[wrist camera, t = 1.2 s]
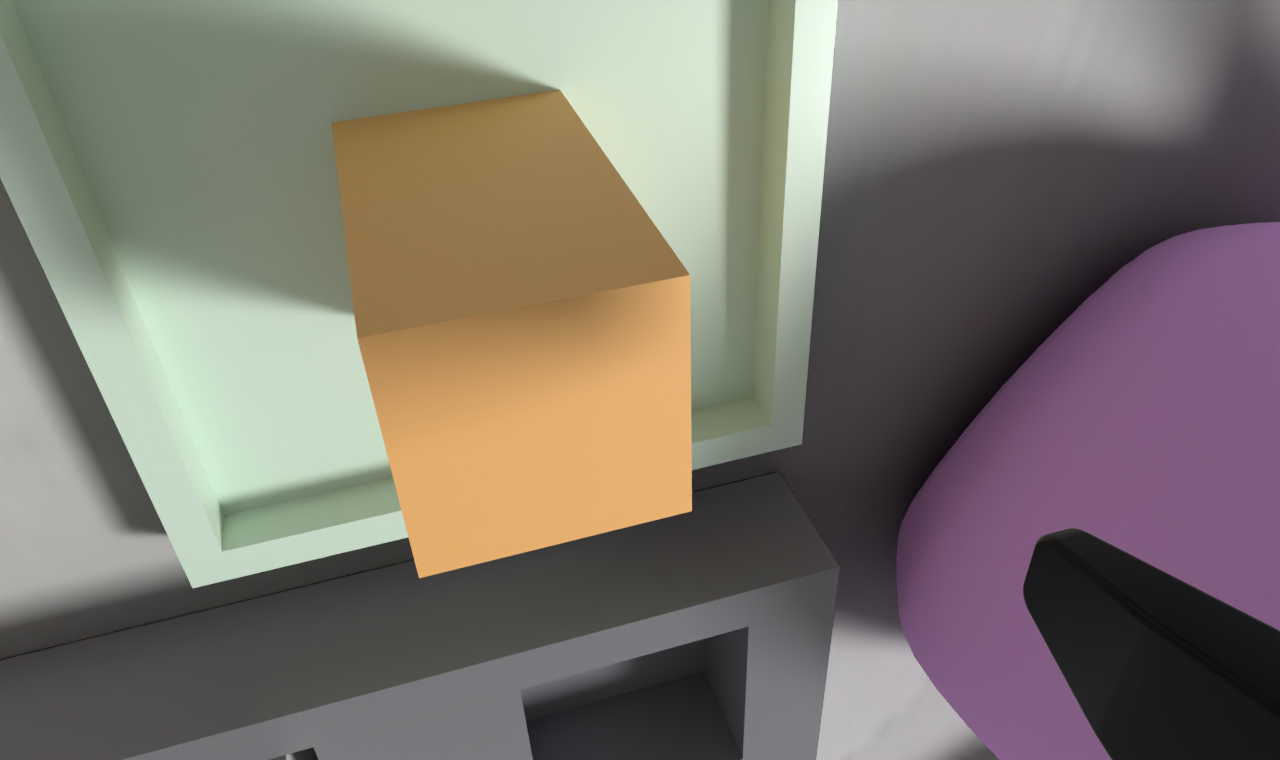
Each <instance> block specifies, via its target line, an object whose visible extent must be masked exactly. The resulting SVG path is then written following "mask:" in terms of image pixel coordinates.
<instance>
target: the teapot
mask: <svg viewBox="0 0 1280 760" xmlns="http://www.w3.org/2000/svg"><path fill="white" fill-rule="evenodd" d="M1070 528H1076V529H1080V530H1083V531H1086V532H1088V533H1090V534H1092V535H1094V536H1096V537H1098V538H1100V539H1102V540H1103V541H1105V542H1107V543H1109V544H1111V545H1113V546H1115V547H1117V548H1119V549H1121V550H1123V551H1125V552H1127V553H1129V554H1131V555H1133V556H1135V557H1137V558H1139V559H1141V560H1143V561H1145V562H1147V563H1149V564H1151V565H1152V566H1154V567H1156V568H1158V569H1160V570H1162V571H1164V572H1166V573H1168V574H1170V575H1172V576H1174V577H1176V578H1178V579H1180V580H1182V581H1184V582H1186V583H1188V584H1190V585H1192V586H1194V587H1196V588H1198V589H1200V590H1202V591H1203V592H1205V593H1207V594H1209V595H1211V596H1213V597H1215V598H1217V599H1219V600H1221V601H1223V602H1225V603H1227V604H1229V605H1231V606H1233V607H1235V608H1237V609H1239V610H1241V611H1243V612H1245V613H1247V614H1249V615H1251V616H1252V617H1254V618H1256V619H1258V620H1260V621H1262V622H1264V623H1266V624H1268V625H1270V626H1272V627H1274V628H1276V629H1278V630H1280V222H1265V223H1248V224H1238V225H1228V226H1219V227H1213V228H1205V229H1198V230H1194V231H1191V232H1187V233H1184V234H1180V235H1177V236H1173V237H1171V238H1169V239H1167V240H1165V241H1163V242H1161V243H1159V244H1157V245H1155V246H1153V247H1150V248H1149V249H1147V250H1146V251H1145V252H1143V253H1142V254H1140V255H1139V256H1138V257H1136V258H1135V259H1133V260H1132V261H1131V262H1129V263H1128V264H1126V265H1125V266H1123V267H1122V268H1121V269H1120V270H1119V271H1117V272H1116V273H1115V274H1114V275H1113V276H1112V277H1111V278H1110V279H1109V280H1107V281H1106V282H1105V283H1104V284H1103V285H1102V286H1101V287H1100V288H1098V289H1097V290H1096V291H1095V292H1094V293H1093V294H1092V295H1091V296H1090V297H1088V298H1087V299H1086V300H1085V301H1084V302H1083V303H1082V304H1081V305H1080V306H1079V307H1078V308H1077V309H1076V310H1075V311H1074V312H1073V313H1072V314H1071V315H1070V316H1069V317H1068V318H1067V319H1066V320H1065V321H1064V322H1063V323H1062V324H1061V325H1060V326H1059V327H1058V328H1057V329H1056V330H1055V331H1054V332H1053V333H1052V334H1051V335H1050V336H1049V337H1048V338H1047V339H1046V340H1045V341H1044V342H1043V343H1042V344H1041V345H1040V346H1039V347H1038V348H1037V349H1036V350H1035V352H1034V353H1033V354H1032V355H1031V356H1030V357H1029V358H1028V359H1027V360H1026V361H1025V362H1024V363H1023V364H1022V366H1021V367H1020V368H1019V369H1018V370H1017V371H1016V372H1015V373H1014V374H1013V375H1012V376H1011V377H1010V378H1009V379H1008V381H1007V382H1006V383H1005V384H1004V385H1003V386H1002V387H1001V388H1000V389H999V391H998V392H997V393H996V394H995V395H994V396H993V398H992V399H991V400H990V401H989V402H988V403H987V405H986V406H985V407H984V408H983V409H982V411H981V412H980V413H979V414H978V415H977V416H976V418H975V419H974V420H973V421H972V422H971V423H970V425H969V426H968V427H967V428H966V430H965V431H964V432H963V433H962V435H961V436H960V437H959V438H958V440H957V441H956V442H955V443H954V445H953V446H952V447H951V449H950V450H949V451H948V452H947V454H946V455H945V456H944V457H943V459H942V460H941V461H940V462H939V464H938V465H937V466H936V467H935V469H934V470H933V472H932V473H931V474H930V476H929V477H928V479H927V480H926V482H925V483H924V485H923V486H922V488H921V489H920V490H919V492H918V493H917V495H916V496H915V498H914V499H913V501H912V502H911V504H910V506H909V508H908V511H907V513H906V515H905V517H904V519H903V521H902V523H901V527H900V532H899V536H898V547H897V595H898V608H899V619H900V622H901V625H902V627H903V630H904V633H905V636H906V639H907V641H908V643H909V645H910V648H911V650H912V652H913V654H914V657H915V658H916V660H917V661H918V662H919V664H920V665H921V667H922V668H923V670H924V671H925V673H926V674H927V676H928V677H929V679H930V680H931V681H932V683H933V684H934V686H935V687H936V689H937V690H938V691H939V692H940V694H941V695H942V696H943V697H944V698H945V699H946V701H947V702H948V703H949V704H950V705H951V707H952V708H953V709H954V710H955V711H956V712H957V714H958V715H959V716H960V717H961V718H962V720H963V721H964V722H965V723H966V724H967V725H968V726H969V728H970V729H971V730H972V731H973V732H974V733H975V734H976V735H977V736H978V737H979V739H980V740H981V741H982V742H983V743H984V744H985V745H986V746H987V747H988V748H989V749H990V750H991V751H992V752H993V753H994V754H995V756H996V757H997V758H998V759H999V760H1112V759H1111V758H1110V756H1109V755H1108V753H1107V752H1106V750H1105V749H1104V747H1103V745H1102V744H1101V742H1100V741H1099V739H1098V738H1097V736H1096V735H1095V733H1094V731H1093V729H1092V728H1091V726H1090V724H1089V722H1088V721H1087V719H1086V717H1085V715H1084V714H1083V712H1082V710H1081V708H1080V706H1079V704H1078V702H1077V701H1076V699H1075V697H1074V695H1073V693H1072V691H1071V689H1070V688H1069V686H1068V684H1067V682H1066V680H1065V678H1064V676H1063V674H1062V673H1061V671H1060V669H1059V667H1058V665H1057V663H1056V661H1055V660H1054V658H1053V656H1052V654H1051V652H1050V650H1049V648H1048V646H1047V645H1046V643H1045V641H1044V639H1043V637H1042V635H1041V633H1040V632H1039V630H1038V628H1037V626H1036V624H1035V622H1034V620H1033V618H1032V617H1031V615H1030V613H1029V611H1028V609H1027V606H1026V604H1025V601H1024V595H1023V585H1024V581H1025V578H1026V574H1027V571H1028V568H1029V564H1030V561H1031V558H1032V554H1033V551H1034V548H1035V545H1036V542H1037V541H1038V539H1039V538H1041V537H1042V536H1043V535H1046V534H1050V533H1054V532H1057V531H1061V530H1065V529H1070Z"/></svg>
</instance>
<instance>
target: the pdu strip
mask: <svg viewBox="0 0 1280 760" xmlns="http://www.w3.org/2000/svg"><path fill="white" fill-rule="evenodd" d="M839 571H840V566H839V564H838V563H837V561H836V560H835V558H834V556H833V555H832V553H831V552H830V550H829V549H828V547H827V546H826V544H825V542H824V541H823V539H822V538H821V536H820V535H819V533H818V531H817V530H816V528H815V527H814V525H813V524H812V522H811V521H810V519H809V517H808V516H807V514H806V513H805V511H804V510H803V508H802V506H801V505H800V503H799V502H798V500H797V499H796V497H795V496H794V494H793V492H792V491H791V489H790V488H789V486H788V485H787V483H786V481H785V480H784V478H783V477H782V475H781V474H780V472H776V473H772V474H768V475H764V476H760V477H756V478H752V479H747V480H743V481H739V482H735V483H731V484H727V485H723V486H718V487H714V488H710V489H706V490H702V491H698V492H694V493H692V511H691V512H687V513H682V514H678V515H674V516H670V517H666V518H662V519H658V520H654V521H650V522H646V523H642V524H638V525H634V526H630V527H626V528H622V529H617V530H613V531H609V532H605V533H601V534H597V535H593V536H589V537H585V538H581V539H577V540H573V541H569V542H565V543H561V544H557V545H553V546H548V547H544V548H540V549H536V550H532V551H528V552H524V553H520V554H516V555H512V556H508V557H504V558H500V559H496V560H492V561H488V562H484V563H479V564H475V565H471V566H467V567H463V568H459V569H455V570H451V571H447V572H443V573H439V574H435V575H431V576H427V577H423V578H419V576H418V572H417V568H416V565H415V561H414V560H413V561H409V562H404V563H400V564H396V565H392V566H388V567H384V568H380V569H375V570H371V571H367V572H363V573H359V574H355V575H351V576H347V577H342V578H338V579H334V580H330V581H326V582H322V583H318V584H313V585H309V586H305V587H301V588H297V589H293V590H289V591H285V592H280V593H276V594H272V595H268V596H264V597H260V598H256V599H251V600H247V601H243V602H239V603H235V604H231V605H227V606H223V607H218V608H214V609H210V610H206V611H202V612H198V613H194V614H189V615H185V616H181V617H177V618H173V619H169V620H165V621H161V622H156V623H152V624H148V625H144V626H140V627H136V628H132V629H128V630H123V631H119V632H115V633H111V634H107V635H103V636H99V637H94V638H90V639H86V640H82V641H78V642H74V643H70V644H66V645H61V646H57V647H53V648H49V649H45V650H41V651H37V652H32V653H28V654H24V655H20V656H16V657H12V658H8V659H4V660H0V760H269V759H273V758H276V757H280V756H283V755H287V754H291V753H294V752H298V751H302V750H305V749H309V748H312V747H314V750H315V752H316V755H317V757H318V759H319V760H816V755H817V747H818V739H819V731H820V723H821V715H822V707H823V699H824V691H825V683H826V675H827V667H828V659H829V651H830V643H831V635H832V627H833V619H834V611H835V603H836V595H837V587H838V579H839Z"/></svg>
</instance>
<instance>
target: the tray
mask: <svg viewBox="0 0 1280 760" xmlns="http://www.w3.org/2000/svg"><path fill="white" fill-rule="evenodd" d="M837 6H838V0H0V179H1V181H2V183H3V185H4V187H5V189H6V191H7V194H8V196H9V198H10V200H11V202H12V204H13V206H14V208H15V211H16V213H17V215H18V217H19V219H20V221H21V223H22V226H23V228H24V230H25V232H26V234H27V236H28V238H29V240H30V243H31V245H32V247H33V249H34V251H35V253H36V255H37V258H38V260H39V262H40V264H41V266H42V268H43V270H44V273H45V275H46V277H47V279H48V281H49V283H50V285H51V287H52V290H53V292H54V294H55V296H56V298H57V300H58V302H59V305H60V307H61V309H62V311H63V313H64V315H65V317H66V319H67V322H68V324H69V326H70V328H71V330H72V332H73V334H74V337H75V339H76V341H77V343H78V345H79V347H80V349H81V351H82V354H83V356H84V358H85V360H86V362H87V364H88V366H89V369H90V371H91V373H92V375H93V377H94V379H95V381H96V383H97V386H98V388H99V390H100V392H101V394H102V396H103V398H104V401H105V403H106V405H107V407H108V409H109V411H110V413H111V415H112V418H113V420H114V422H115V424H116V426H117V428H118V430H119V433H120V435H121V437H122V439H123V441H124V443H125V445H126V447H127V450H128V452H129V454H130V456H131V458H132V460H133V462H134V465H135V467H136V469H137V471H138V473H139V475H140V477H141V480H142V482H143V484H144V486H145V488H146V490H147V492H148V494H149V497H150V499H151V501H152V503H153V505H154V507H155V509H156V512H157V514H158V516H159V518H160V520H161V522H162V524H163V526H164V529H165V531H166V533H167V535H168V537H169V539H170V541H171V544H172V546H173V548H174V550H175V552H176V554H177V556H178V558H179V561H180V563H181V565H182V567H183V569H184V571H185V573H186V576H187V578H188V580H189V582H190V584H191V586H192V588H197V587H201V586H205V585H209V584H213V583H218V582H222V581H226V580H230V579H235V578H239V577H243V576H247V575H251V574H256V573H260V572H264V571H268V570H273V569H277V568H281V567H285V566H289V565H294V564H298V563H302V562H306V561H311V560H315V559H319V558H323V557H328V556H332V555H336V554H340V553H344V552H349V551H353V550H357V549H361V548H366V547H370V546H374V545H378V544H382V543H387V542H391V541H395V540H399V539H404V538H408V534H407V530H406V526H405V522H404V518H403V514H402V510H401V506H400V503H399V499H398V495H397V491H396V487H395V483H394V479H393V475H392V471H391V468H390V464H389V460H388V456H387V452H386V448H385V444H384V440H383V437H382V433H381V429H380V425H379V421H378V417H377V413H376V409H375V406H374V402H373V398H372V394H371V390H370V386H369V382H368V378H367V374H366V371H365V367H364V363H363V359H362V355H361V351H360V347H359V343H358V340H357V332H356V324H355V316H354V307H353V299H352V291H351V282H350V274H349V266H348V257H347V249H346V241H345V232H344V224H343V215H342V207H341V199H340V190H339V182H338V174H337V165H336V157H335V149H334V140H333V132H332V124H331V122H338V121H345V120H352V119H359V118H366V117H373V116H380V115H387V114H394V113H401V112H408V111H415V110H422V109H429V108H436V107H443V106H450V105H457V104H464V103H471V102H478V101H485V100H492V99H499V98H506V97H514V96H521V95H528V94H535V93H542V92H549V91H556V90H560V91H561V92H562V93H563V95H564V96H565V98H566V99H567V100H568V102H569V103H570V105H571V106H572V108H573V109H574V110H575V112H576V113H577V115H578V116H579V118H580V119H581V120H582V122H583V123H584V125H585V126H586V128H587V129H588V130H589V132H590V133H591V135H592V136H593V137H594V139H595V140H596V142H597V143H598V145H599V146H600V147H601V149H602V150H603V152H604V153H605V155H606V156H607V157H608V159H609V160H610V162H611V163H612V165H613V166H614V167H615V169H616V170H617V172H618V173H619V174H620V176H621V177H622V179H623V180H624V182H625V183H626V184H627V186H628V187H629V189H630V190H631V192H632V193H633V194H634V196H635V197H636V199H637V200H638V202H639V203H640V204H641V206H642V207H643V209H644V210H645V211H646V213H647V214H648V216H649V217H650V219H651V220H652V221H653V223H654V224H655V226H656V227H657V229H658V230H659V231H660V233H661V234H662V236H663V237H664V239H665V240H666V241H667V243H668V244H669V246H670V247H671V248H672V250H673V251H674V253H675V254H676V256H677V257H678V258H679V260H680V261H681V263H682V264H683V266H684V267H685V268H686V270H687V271H688V273H689V274H690V318H691V441H692V470H695V469H699V468H704V467H708V466H712V465H716V464H721V463H725V462H729V461H733V460H737V459H742V458H746V457H750V456H754V455H759V454H763V453H767V452H771V451H776V450H780V449H784V448H788V447H792V446H797V445H801V444H802V436H803V423H804V411H805V399H806V387H807V374H808V362H809V350H810V337H811V325H812V313H813V301H814V288H815V276H816V264H817V252H818V239H819V227H820V215H821V202H822V190H823V178H824V166H825V153H826V141H827V129H828V117H829V104H830V92H831V80H832V67H833V55H834V43H835V31H836V18H837Z"/></svg>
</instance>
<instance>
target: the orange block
mask: <svg viewBox="0 0 1280 760" xmlns="http://www.w3.org/2000/svg"><path fill="white" fill-rule="evenodd" d="M331 124H332V132H333V140H334V149H335V157H336V165H337V174H338V182H339V190H340V199H341V207H342V215H343V224H344V232H345V241H346V249H347V257H348V266H349V274H350V282H351V291H352V299H353V307H354V316H355V324H356V332H357V340H358V343H359V347H360V351H361V355H362V359H363V363H364V367H365V371H366V374H367V378H368V382H369V386H370V390H371V394H372V398H373V402H374V406H375V409H376V413H377V417H378V421H379V425H380V429H381V433H382V437H383V440H384V444H385V448H386V452H387V456H388V460H389V464H390V468H391V471H392V475H393V479H394V483H395V487H396V491H397V495H398V499H399V503H400V506H401V510H402V514H403V518H404V522H405V526H406V530H407V534H408V537H409V541H410V545H411V549H412V553H413V557H414V561H415V565H416V568H417V572H418V576H419V578H423V577H427V576H431V575H435V574H439V573H443V572H447V571H451V570H455V569H459V568H463V567H467V566H471V565H475V564H479V563H484V562H488V561H492V560H496V559H500V558H504V557H508V556H512V555H516V554H520V553H524V552H528V551H532V550H536V549H540V548H544V547H548V546H553V545H557V544H561V543H565V542H569V541H573V540H577V539H581V538H585V537H589V536H593V535H597V534H601V533H605V532H609V531H613V530H617V529H622V528H626V527H630V526H634V525H638V524H642V523H646V522H650V521H654V520H658V519H662V518H666V517H670V516H674V515H678V514H682V513H687V512H691V511H692V441H691V318H690V274H689V273H688V271H687V270H686V268H685V267H684V266H683V264H682V263H681V261H680V260H679V258H678V257H677V256H676V254H675V253H674V251H673V250H672V248H671V247H670V246H669V244H668V243H667V241H666V240H665V239H664V237H663V236H662V234H661V233H660V231H659V230H658V229H657V227H656V226H655V224H654V223H653V221H652V220H651V219H650V217H649V216H648V214H647V213H646V211H645V210H644V209H643V207H642V206H641V204H640V203H639V202H638V200H637V199H636V197H635V196H634V194H633V193H632V192H631V190H630V189H629V187H628V186H627V184H626V183H625V182H624V180H623V179H622V177H621V176H620V174H619V173H618V172H617V170H616V169H615V167H614V166H613V165H612V163H611V162H610V160H609V159H608V157H607V156H606V155H605V153H604V152H603V150H602V149H601V147H600V146H599V145H598V143H597V142H596V140H595V139H594V137H593V136H592V135H591V133H590V132H589V130H588V129H587V128H586V126H585V125H584V123H583V122H582V120H581V119H580V118H579V116H578V115H577V113H576V112H575V110H574V109H573V108H572V106H571V105H570V103H569V102H568V100H567V99H566V98H565V96H564V95H563V93H562V92H561V91H560V90H556V91H549V92H542V93H535V94H528V95H521V96H514V97H506V98H499V99H492V100H485V101H478V102H471V103H464V104H457V105H450V106H443V107H436V108H429V109H422V110H415V111H408V112H401V113H394V114H387V115H380V116H373V117H366V118H359V119H352V120H345V121H338V122H331Z"/></svg>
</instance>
